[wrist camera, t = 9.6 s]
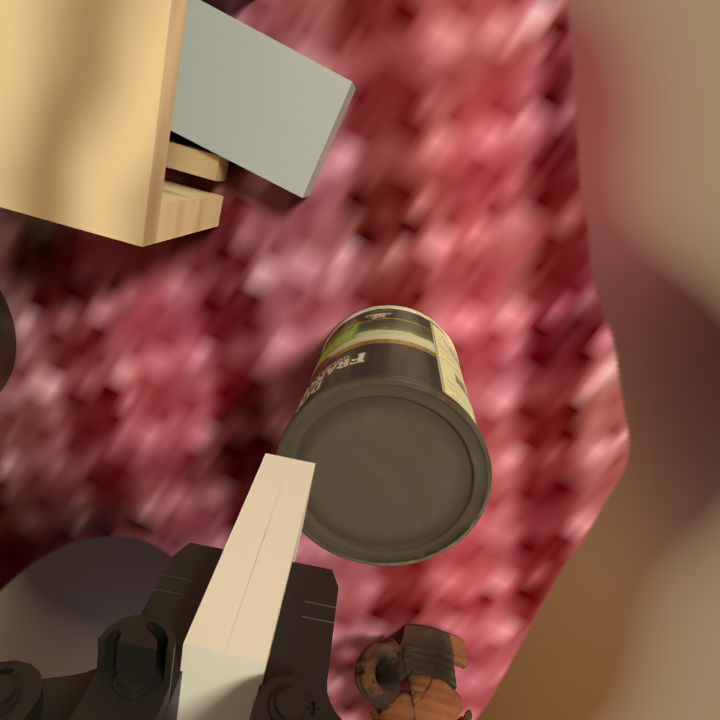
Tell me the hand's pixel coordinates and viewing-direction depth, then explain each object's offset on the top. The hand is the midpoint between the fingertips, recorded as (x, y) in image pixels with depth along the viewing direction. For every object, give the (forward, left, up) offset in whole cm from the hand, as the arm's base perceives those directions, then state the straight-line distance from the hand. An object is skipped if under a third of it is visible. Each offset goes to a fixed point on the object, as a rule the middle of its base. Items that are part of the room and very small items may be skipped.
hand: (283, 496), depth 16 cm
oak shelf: (-16, +12, -22) cm, 30 cm away
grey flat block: (-11, +12, -23) cm, 28 cm away
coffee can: (+4, -4, -23) cm, 23 cm away
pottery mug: (+13, -29, -23) cm, 39 cm away
